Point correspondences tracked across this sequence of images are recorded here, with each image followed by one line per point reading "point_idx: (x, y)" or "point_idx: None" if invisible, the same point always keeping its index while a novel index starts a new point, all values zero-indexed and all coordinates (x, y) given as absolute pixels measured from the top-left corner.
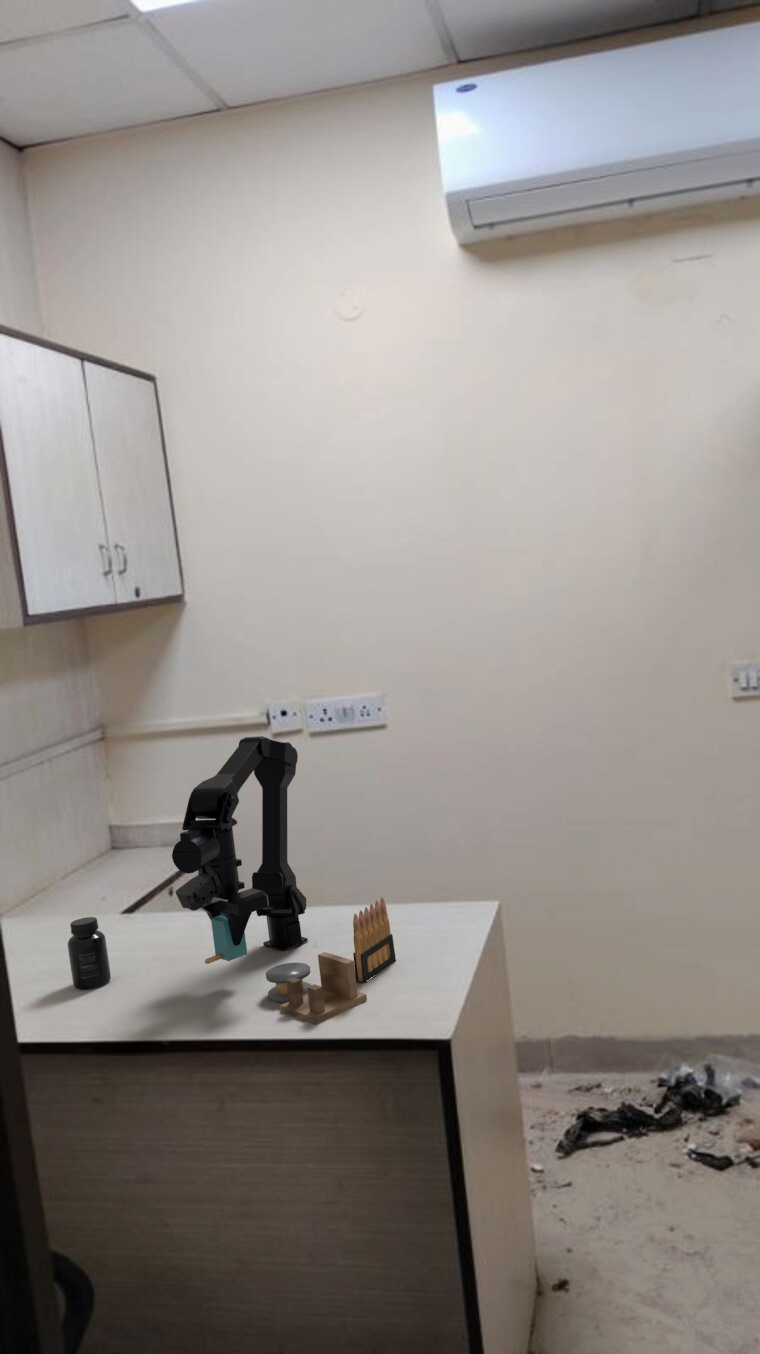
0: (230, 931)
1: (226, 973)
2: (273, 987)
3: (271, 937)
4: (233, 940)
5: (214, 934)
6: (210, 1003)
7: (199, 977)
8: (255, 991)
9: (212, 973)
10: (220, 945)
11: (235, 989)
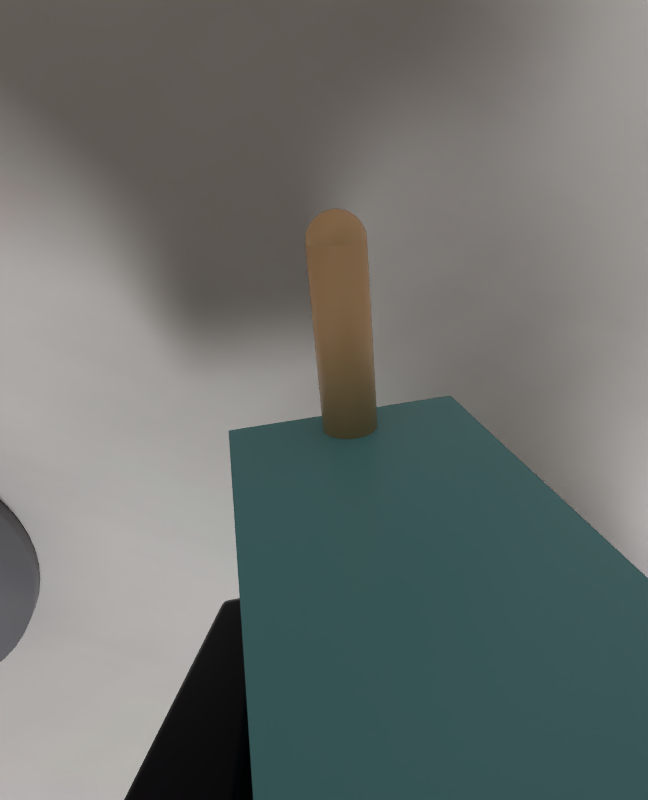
0: (239, 751)
1: (516, 443)
2: (12, 539)
3: None
4: (222, 642)
5: (551, 537)
6: (144, 127)
7: (614, 306)
8: (105, 446)
9: (590, 388)
10: (376, 483)
11: (244, 374)
